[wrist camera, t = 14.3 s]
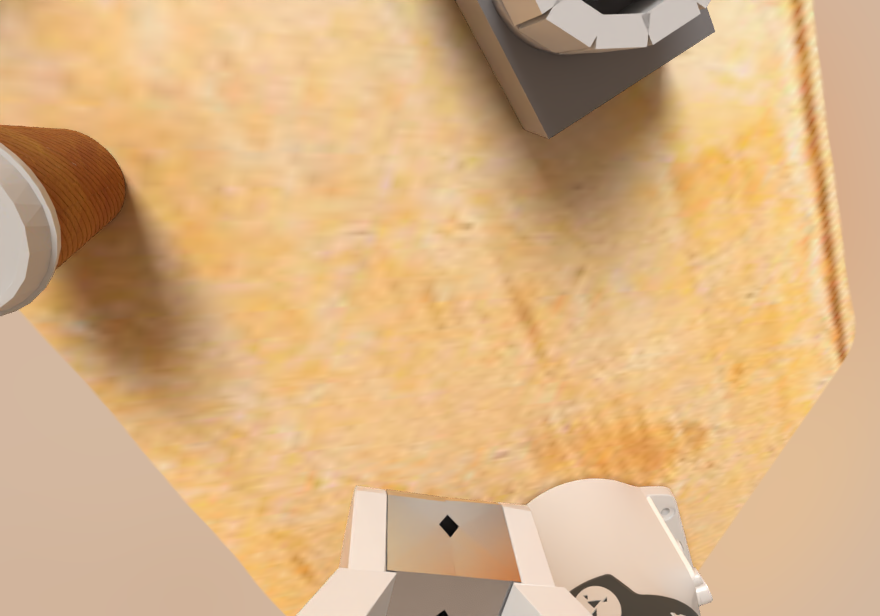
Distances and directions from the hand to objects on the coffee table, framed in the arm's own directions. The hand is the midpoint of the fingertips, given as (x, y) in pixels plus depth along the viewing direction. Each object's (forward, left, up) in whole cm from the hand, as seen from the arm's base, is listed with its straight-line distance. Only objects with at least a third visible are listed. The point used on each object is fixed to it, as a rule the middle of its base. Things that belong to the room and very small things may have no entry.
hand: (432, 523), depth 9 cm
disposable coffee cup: (+12, +17, -29) cm, 36 cm away
